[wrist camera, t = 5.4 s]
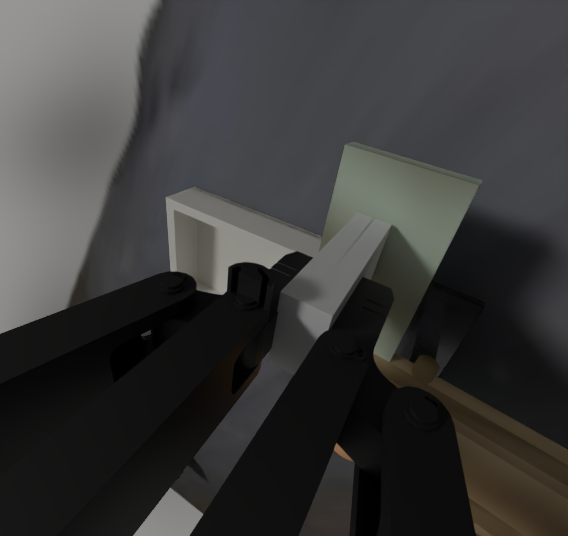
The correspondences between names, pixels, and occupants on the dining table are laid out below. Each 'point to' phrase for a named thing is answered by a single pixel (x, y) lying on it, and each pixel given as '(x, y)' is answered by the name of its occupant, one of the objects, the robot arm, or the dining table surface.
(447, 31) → the dining table surface
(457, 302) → the fulcrum
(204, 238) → the dish
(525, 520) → the lever
